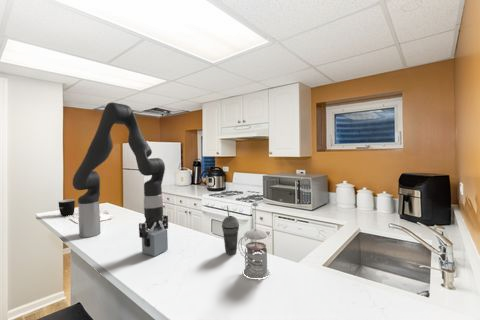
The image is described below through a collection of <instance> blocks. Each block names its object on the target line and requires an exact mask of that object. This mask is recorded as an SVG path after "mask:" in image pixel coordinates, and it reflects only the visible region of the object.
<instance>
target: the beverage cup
mask: <svg viewBox="0 0 480 320" xmlns="http://www.w3.org/2000/svg"><path fill="white" fill-rule="evenodd" d="M226 209H227V216H226V217H224V218H223V220H222V223H221V224H222V225H221V228H222V233H223V244H224V251H225V255H227V256H234V255H236V254H237V250H238V237H239V236H238V235H239V229H240V223H239V220H238V218H237V217H235V216H233V215H230V212H229V205H226Z"/></svg>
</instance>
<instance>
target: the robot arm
mask: <svg viewBox="0 0 480 320" xmlns="http://www.w3.org/2000/svg"><path fill="white" fill-rule="evenodd" d="M114 124H116V125H124V126H125V128H127V130H128V145H129V148H130V149H131V151H132V153H133V154H134V156H135V160H136V164H137V169H138V172H139V173H140V174H141V175H143V176H151V178H150V179H149V180H146V181H145V182H144V183H143V196H144V197H143V213H144V215H143V216H144V218H145V222H142V223H138V235H139V236H138V237H139V239H142V238H144V245H145V246H146V247H150V238H149V237H150V234H151V233H152V232H153V230H155V229H156V228H158V229H159V228H161V229H166V230H168V229H169V217H168V216H169V215H164V205H163V204H164V203H163V201H164V200H163V192H162V183H163V180H164V175H165V172H166V171H165V170H166V166H165V163H164V161H163V159H162V158H160V157H153V158H149V157H151V155H152V153H153V151H152V148H151V147H150V145H149V143H148V141H147V140H146V139H145V137H144V135H143V133H142V131H141V128H140V125H139V123H138V120H137V118H136V116H135V113H134V111H133V109H132V107H130V106H129V105H127V104H122V103H118V102H108V103H107V104H106V106H104V109H103V111H102V115H101V118H100V121H99V125H98V127H97V129H96V132H95V134H94V137H93V138H92V140H91V142H90V145H89V147H88V149H87V151H86V154H85V156H84V157H83V160H82V162H81V163H80V165H79V167H78V168H77V169H76V171H75V173H74V174H73V177H72V186H73V188H74V189H75V190H77V191H83V190H85V191H86V190H87V191H86V192H85V193H84V194H83V195H80V196H79V197H78V198H77V205H78V215H79V224H78V233H79V236H80V238H92V237H96V236H99V235H100V234H101V221H100V213H101V212H100V196H101V195H100V194H101V179H100V174H99V173H98V171H96V170H95V169H96V168H98V167H99V166H101V164H103V163H105V162H106V161H107V159H108V158H109V156H110V155H111V152H112V150H113V148H114V144H113V143H114V142H113V139H112V136H111V131H112V127H113V126H114ZM149 229H150V230H149ZM147 233H148V234H147ZM146 234H147V235H146Z"/></svg>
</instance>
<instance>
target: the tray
mask: <svg viewBox="0 0 480 320" xmlns="http://www.w3.org/2000/svg"><path fill="white" fill-rule="evenodd" d="M73 216H74V217H72V219H71V218H70V220H71V221H73V222H75V223H76V224H78V223H79V214H77V215H73ZM110 216H112V217H113V215H112V214H110V212H109V211H107V210H104V211H102V212H100V218H101V219H100V222H101V221H106V220H110V219H111V220H112V218H111V217H110Z"/></svg>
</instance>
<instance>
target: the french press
mask: <svg viewBox="0 0 480 320" xmlns="http://www.w3.org/2000/svg"><path fill="white" fill-rule="evenodd" d="M258 206H259V204H258V202H253V203H252V207H254V220H255V221H254V222H255V225H254V226H255V227H254V228H253V229H249V230H247V231H246V232H244V234H243V235H244V236H242V237H241V238H240V239H239V240H238V242H237V247H241V249H240V248H238V250H239V253H240V255H241V256H242V257H244V264H245V265H244V266H245V267H244V269H243V270H244V274H245V275H246V276H248V277H250V278H263V277H266V276H268V275H269V273H270V274H271V271H270V270H269V269H268V250H267V248H266V247H267V244H265V243H263V242H261V241H260V240H264V239H266V238H267V236H268V233H267V232H266V231H264V230H262V229H259V228H257V219H256V218H257V216H256V215H257V212H256V210H257V209H256V208H257V207H258ZM243 240H244V241H245V242H246V241H248V240H255V241H250V242H247V243H246V244H245V249H244V250H243V247H242V244H243V243H242V242H243ZM257 240H258V241H257ZM241 251H242V252H241ZM269 271H270V272H269ZM269 276H270V275H269Z"/></svg>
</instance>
